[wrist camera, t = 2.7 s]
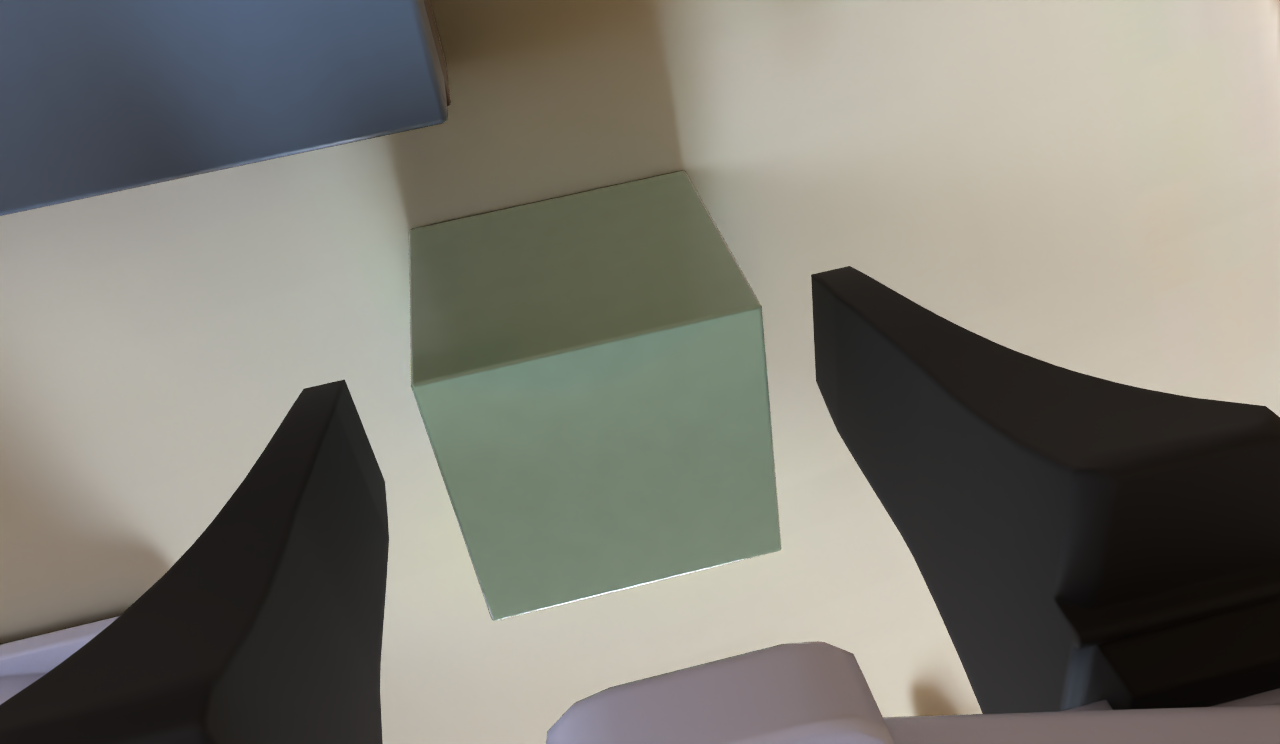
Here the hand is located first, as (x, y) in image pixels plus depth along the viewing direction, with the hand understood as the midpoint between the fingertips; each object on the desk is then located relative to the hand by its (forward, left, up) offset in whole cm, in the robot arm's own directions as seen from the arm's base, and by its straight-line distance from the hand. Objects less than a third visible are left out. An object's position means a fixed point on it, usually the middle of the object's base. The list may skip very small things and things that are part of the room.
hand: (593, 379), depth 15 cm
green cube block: (0, 0, -2) cm, 2 cm away
